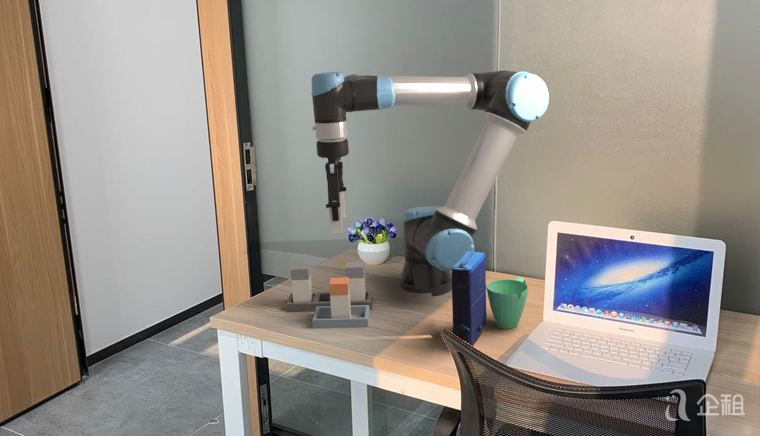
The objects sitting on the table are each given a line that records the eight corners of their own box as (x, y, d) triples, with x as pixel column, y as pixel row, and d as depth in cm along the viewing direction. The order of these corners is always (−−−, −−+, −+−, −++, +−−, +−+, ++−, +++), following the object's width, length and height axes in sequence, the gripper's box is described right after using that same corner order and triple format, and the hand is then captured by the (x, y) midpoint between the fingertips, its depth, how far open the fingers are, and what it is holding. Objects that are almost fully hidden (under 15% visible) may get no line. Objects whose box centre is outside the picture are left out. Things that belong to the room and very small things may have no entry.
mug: (518, 336, 161) (519, 296, 158) (480, 328, 166) (480, 290, 163) (539, 313, 173) (540, 276, 170) (503, 307, 178) (503, 270, 175)
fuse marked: (351, 317, 174) (349, 277, 171) (350, 325, 170) (347, 283, 167) (333, 318, 174) (331, 277, 171) (332, 325, 170) (329, 284, 167)
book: (472, 353, 154) (471, 269, 148) (449, 349, 156) (447, 267, 151) (488, 327, 166) (488, 249, 161) (467, 324, 169) (466, 247, 163)
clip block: (373, 300, 186) (373, 289, 185) (372, 313, 178) (371, 302, 177) (291, 302, 187) (290, 292, 186) (285, 315, 179) (284, 305, 178)
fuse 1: (312, 301, 184) (310, 263, 182) (310, 308, 180) (307, 268, 177) (296, 302, 185) (293, 263, 182) (293, 308, 180) (290, 269, 177)
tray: (369, 316, 176) (369, 305, 175) (368, 330, 168) (367, 318, 167) (317, 317, 177) (316, 306, 176) (313, 331, 168) (312, 320, 167)
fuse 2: (366, 300, 184) (364, 261, 181) (365, 306, 180) (363, 267, 177) (349, 300, 184) (347, 262, 181) (348, 307, 180) (345, 267, 177)
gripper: (320, 132, 174) (327, 212, 180) (311, 149, 150) (319, 241, 156) (349, 130, 174) (355, 210, 180) (345, 147, 150) (352, 239, 156)
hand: (338, 225), depth 168 cm, fingers open, 13 cm apart
